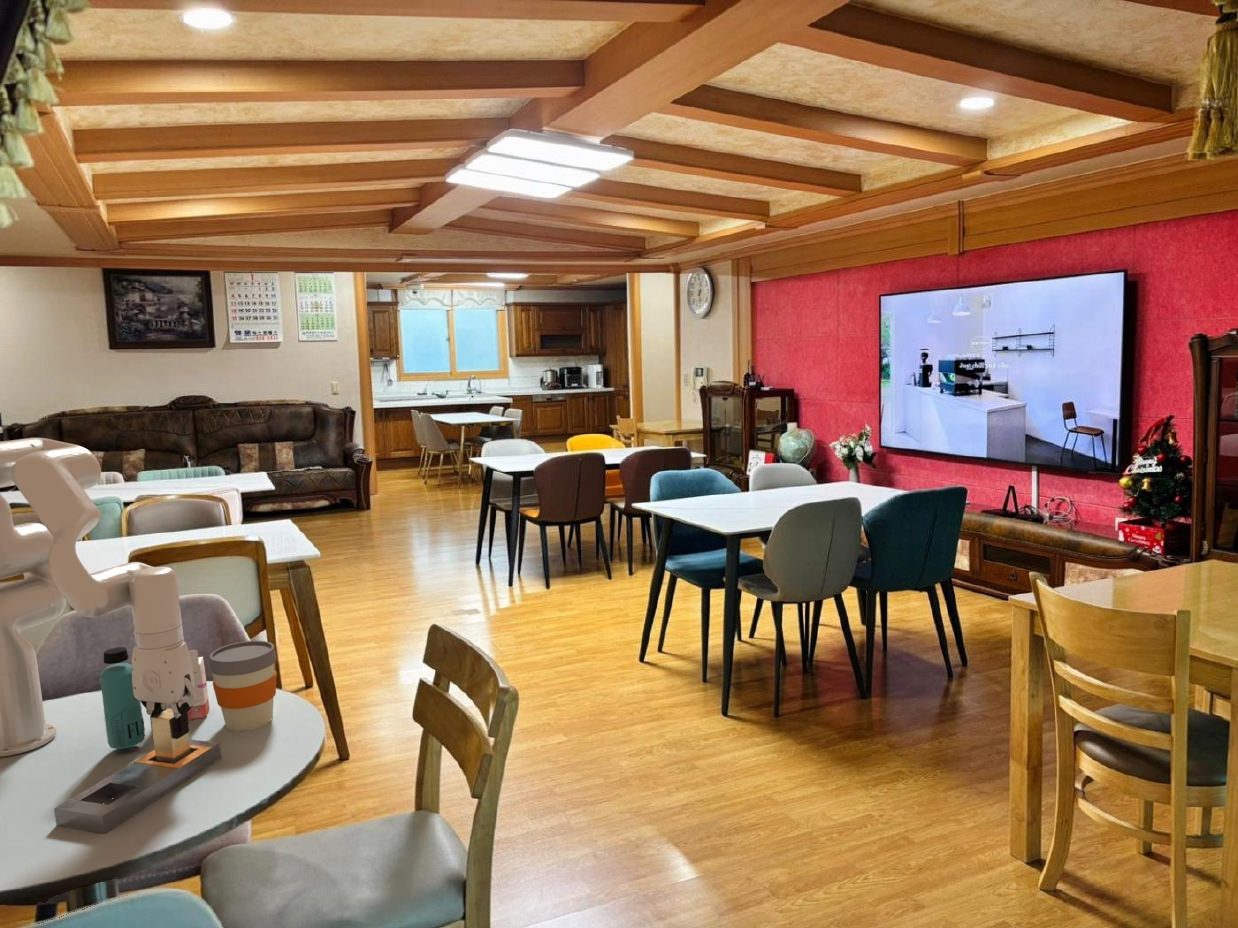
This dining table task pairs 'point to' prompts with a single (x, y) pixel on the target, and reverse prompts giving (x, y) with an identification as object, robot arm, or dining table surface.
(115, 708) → the beverage bottle
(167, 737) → the wooden block
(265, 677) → the reusable coffee cup
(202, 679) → the ink cartridge box
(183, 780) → the grey flat rectangular block
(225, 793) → the dining table surface
